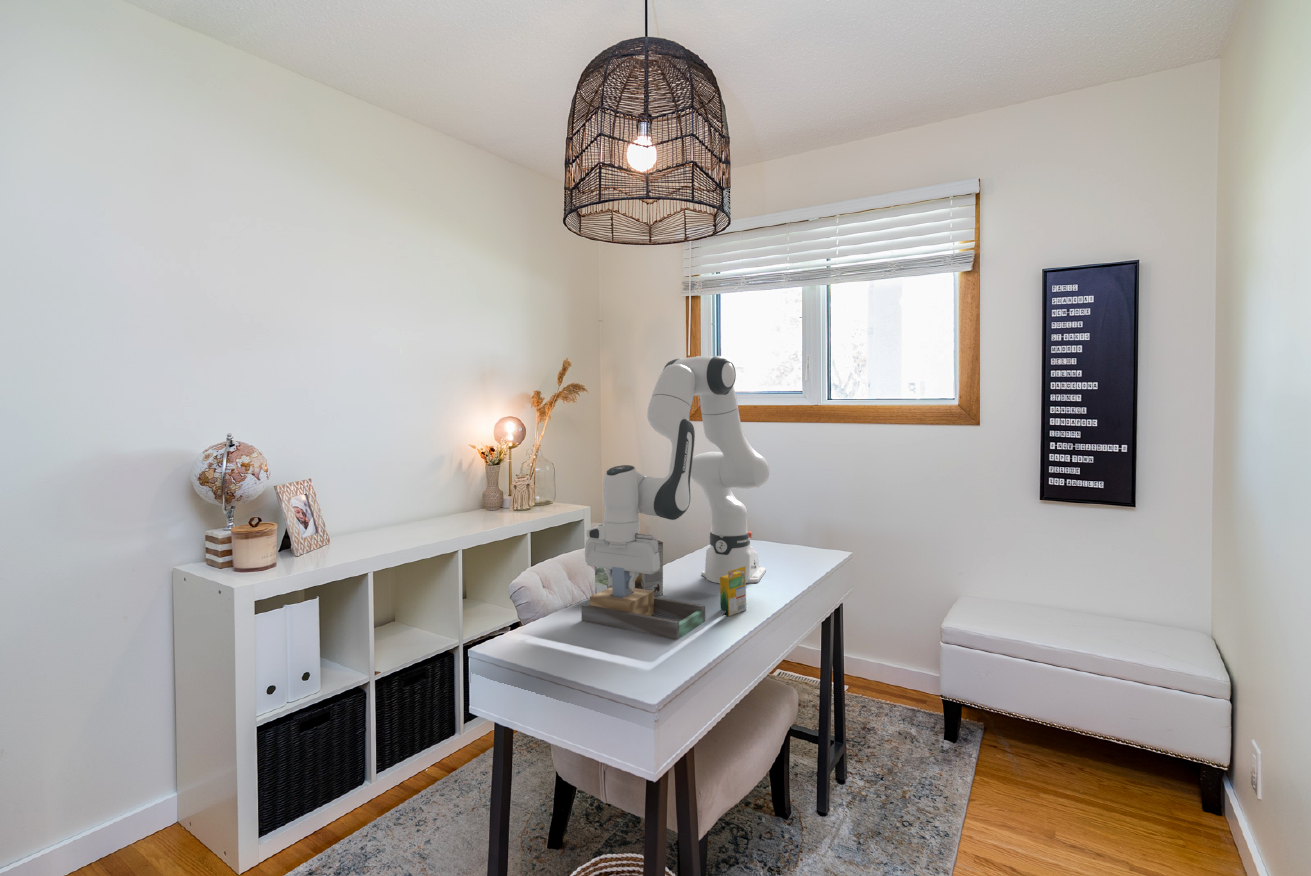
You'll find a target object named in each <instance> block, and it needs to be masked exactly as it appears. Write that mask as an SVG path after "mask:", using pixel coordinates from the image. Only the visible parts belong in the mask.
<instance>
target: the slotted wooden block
mask: <svg viewBox="0 0 1311 876" xmlns="http://www.w3.org/2000/svg"><path fill="white" fill-rule="evenodd" d="M654 597H655V596H654V591H649V590H643V589H637V588H634V589H632V594H630V595H628V596H625V597H623V598H618V597H612V587H611V588H609V589H606V590H604V591H602V592H599V593H597V594H596V593H594V594H593V595H590V596H589V605H592V606H597V607H603V608H608V609H614V610H619V611H625V612H630V613H635V614H641V615H646V616H653V615H655V614H654Z"/></svg>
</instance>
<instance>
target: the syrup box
mask: <svg viewBox="0 0 1311 876" xmlns="http://www.w3.org/2000/svg"><path fill="white" fill-rule="evenodd" d="M594 583H595V584H594V585H595V586H594V589H595V590H594V594H597V593H599V592H602V591H604V590H606V589H609V588H611V587H612V586H610V579H609V578H608V576H607V574H606V568H602V567H595V566H594Z"/></svg>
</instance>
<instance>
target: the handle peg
mask: <svg viewBox="0 0 1311 876" xmlns="http://www.w3.org/2000/svg"><path fill="white" fill-rule="evenodd" d="M630 579H631V576H630V572H629V571H624V568H618V567H612V597H618V598H623V597H625V596H628V595H630V594H632V589H627V588H626V586H627V585H626V582H627V581H630Z"/></svg>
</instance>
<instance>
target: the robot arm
mask: <svg viewBox="0 0 1311 876" xmlns="http://www.w3.org/2000/svg"><path fill="white" fill-rule="evenodd" d="M736 379H737V378H736V367H735V365H734V364H733V362H732V361H731V359H730V358H728V357H725V356H722V355H715V356H711V355H709V356H708V355H696V356H692V357H684V358H675V359H671V360H670V361H668V362H667V363H666V364H665V365H664V368H663V370H662V371H661V373H660V374H659V376H658V379H657V382H656V384H655V386H654V388H653V391H652V393H651V398H650V400H649V403H648V408H647V414H646V416H647V419H648V423H649V424H650V427H652V428H653V430H654V431H656V432H657V433H658V434H660V435H661V436H663V437H664V438H667V439H668V440H670V442H671V456H670V457H671V458H670V463H669V471H668V474H667V476H666V477H663V478H662V477H653V476H647V475H644V474H642V473H640V472H639V471H637V469H636V467H635V466H634V465H628V464H626V465H625V464H623V465H616V466H613V467H610V468H609V469H607V470H606V471H605V473H604V478H603V485H602V486H603V487H602V503H603V507H604V514H603V515H604V516H603V519H602V520H603V521H602V522H603V524H600V525H597V526H595V527H591V528H589V529H587V530H586V533H585V535H586V538H588V539H587V540H586V541H585V545H584V546H585V547H584V561H585V563H586V565H587V566H590V567H594V568H595V567H602V568H606V574H607V576H608V578H609V579H610V586H612V567H618V568H624V571H629V572H630V576H631V579H630V581H627V582H626V585H627V586H626V588H627V589H634V588H635V581H636V579H637V577H638V575H639V573H643V574H650V575H651V574H654V573H656V572H657V571H658V570H659V569H660V560H659V553H658V541H659V540H658V539H657V538H655V537H654V536H653V535H652V534H644V533H640V517H639V516H640V515H639V514H642V515H646V516H654V517H659V518H662V519H667V520H670V521H676V520H678V519H679V518H680V517H682V516H683V515H684V514H685V513H686V512H687V510H688V509H689V507H690V503H691V479H692V480H693V482H694V483H695V484H696V485H698V486H699V488H700V489H701V490H702V492H703V493H704V495H705V497H706V499H707V503H708V506H709V512H710V532H709V538H708V539H709V545H710V546H709V547H708V548H707V549H706V552H705V565H704V570H702V571H701V576H703V577H705V578H706V580H708V581H710V582H712V583H716V584H720V577H721V576H725V575H728V571H731V570H734V569H738V568H741V567H744V566H745V570H746V572H745V578H746V584H748V583H759V581H761V579H762V578H763V576H764V575H765V573H766V572H767V568H766V567H764V566H761V565H759V554H758V552H757V551H756V550H755V549H754V547H753V546H751V539H752V538H753V532H752V531H748V510H747V507H746V505H745V504H744V503H743V502H742V501H740V500H738V499H737V497H736V496H735V495H734V493H733V491H732V489H733V490H734V489H737V490H753V489H754V490H755V489H758V488H759V489H760V488H762V487H764V486H765V484H766V483H767V481H768V480H769V476H770V466H769V464H768V461H767V460H766V458H765V457H764V456H763V455H761V454H759V453H758V452H757V451H756V449H754V447H752V446H751V444H750V443H749V440H748V439H747V438H746V436H745V434H744V431H743V426H742V423H741V416H740V412H739V411H740V410H739V405H738V399H737V396H736V395H737V394H736V391H735V388H734V385H735V382H736ZM694 397H699V404H700V413H701V420H702V426H703V431H704V437H706V439H707V441H709V442H710V443H711V444H713V445H715V446H716V447H717V448H718V449H719V450H720V451H707V452H702V453H698V454H697V453H696V455H695V456H694V452H695V451H694V449H695V437H696V436H695V435H696V434H695V433H696V432H695V427H694V425H693V423H692V422H691V420H690V413H691V408H692V406H693V401H694ZM652 539H654V540H652ZM657 540H658V541H657ZM736 572H741V571H740V570H739V571H738V570H737V571H736ZM733 573H734V572H733ZM761 577H762V578H761Z"/></svg>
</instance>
